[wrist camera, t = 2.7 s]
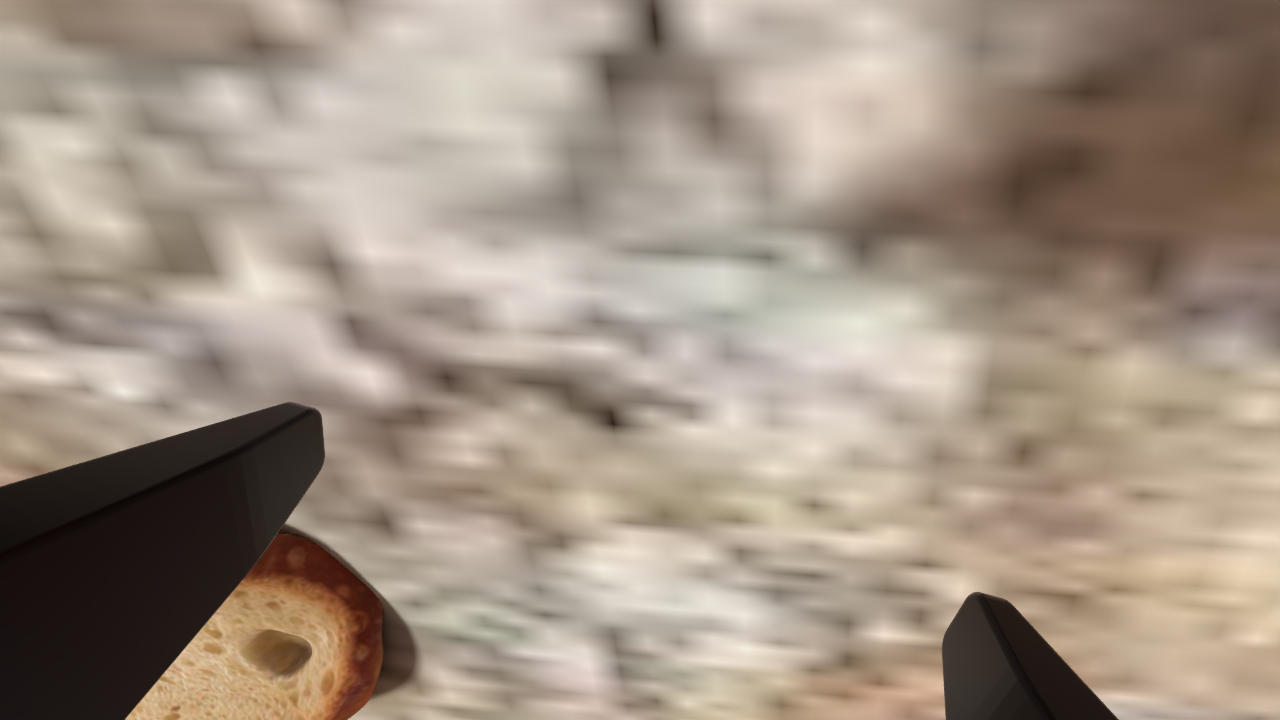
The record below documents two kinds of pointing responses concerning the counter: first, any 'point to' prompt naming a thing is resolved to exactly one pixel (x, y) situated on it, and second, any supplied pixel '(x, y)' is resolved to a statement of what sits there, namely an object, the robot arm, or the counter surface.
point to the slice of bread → (279, 646)
